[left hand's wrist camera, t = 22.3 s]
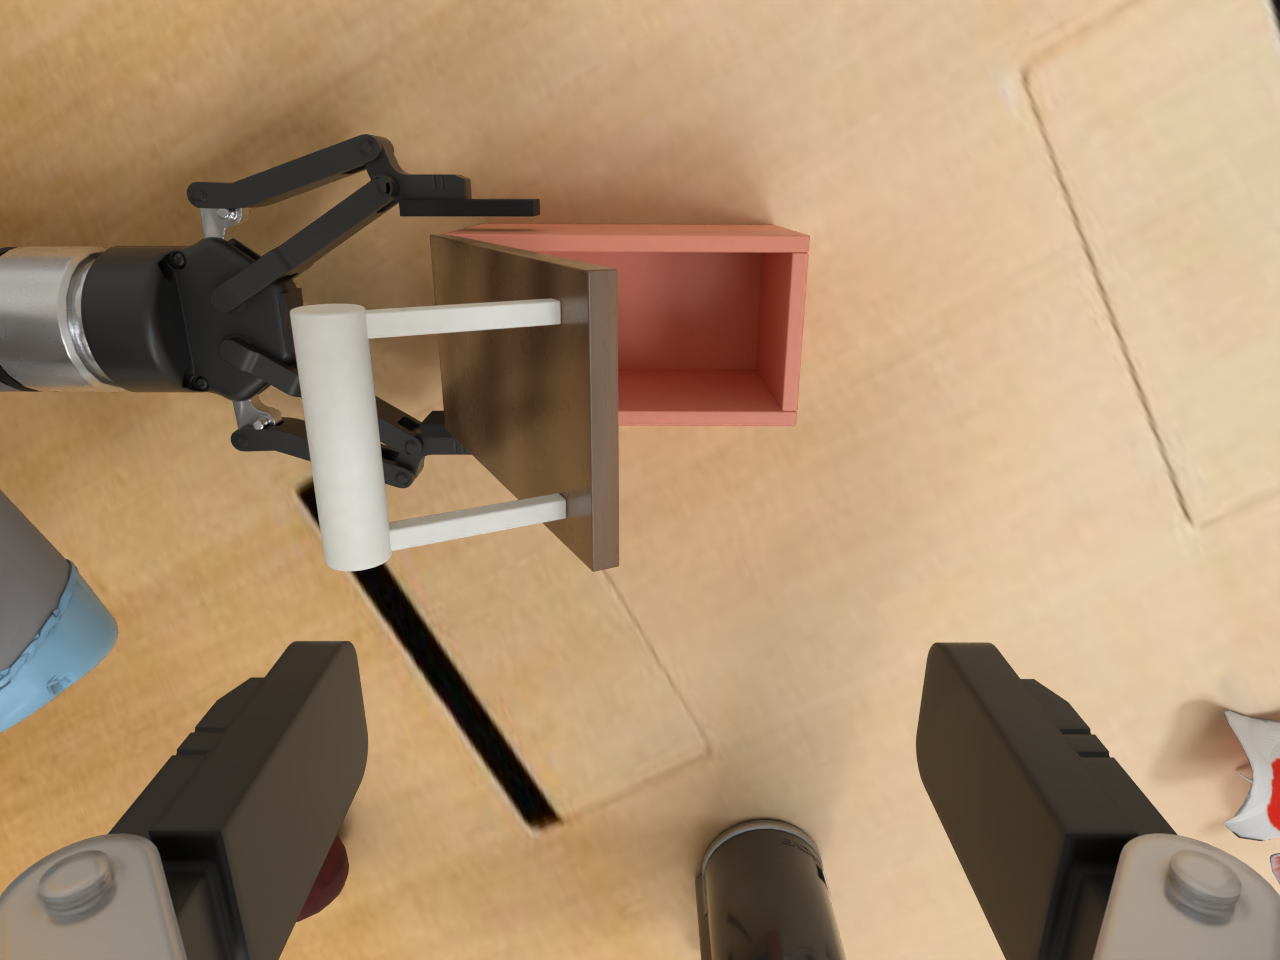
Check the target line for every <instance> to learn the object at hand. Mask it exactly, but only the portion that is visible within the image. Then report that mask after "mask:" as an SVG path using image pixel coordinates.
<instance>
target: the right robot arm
mask: <svg viewBox="0 0 1280 960" xmlns="http://www.w3.org/2000/svg"><path fill="white" fill-rule="evenodd" d="M366 169H367V172H368V174H369V176H370V178H371V181H370V182H369V183H367V184H366V185H364V186H363V187H362V188H360V189H359V190H357V191H356V192H355V193H353V194H352V195H350V196H349V197H348V198H346V199H345V200H343V201H342V202H341V203H339V204H338V205H336V206H335V207H334V208H332V209H331V210H330V211H328V212H327V213H325V214H324V215H323V216H321V217H320V218H318V219H317V220H316V221H314V222H313V223H311V224H310V225H309V226H307V227H306V228H304V229H303V230H302V231H300V232H299V233H297V234H296V235H295V236H293V237H292V238H290V239H289V240H288V241H286V242H285V243H283V244H282V245H281V246H279V247H277V248H275V249H273V250H271V251H269V252H268V253H266V254H265V255H264V256H262V257H261V256H260V255H258V254H257V253H255V252H254V251H252V250H251V249H249V248H248V247H246V246H245V245H243V244H242V243H240V242H239V241H237V240H236V239H234V238H232V232H233V229H234V228H235V227H236V226H238V225H240V224H244V223H246V222H247V221H248V220H249V217H250V208H253V207H262V206H267V205H270V204H274V203H276V202H279V201H282V200H285V199H287V198H290V197H293V196H295V195H298V194H301V193H304V192H306V191H309V190H312V189H315V188H317V187H320V186H323V185H325V184H328V183H331V182H334V181H336V180H339V179H342V178H344V177H347V176H350V175H353V174H355V173H358V172H361V171H364V170H366ZM187 196H188V199H189V201H190V202H191V203H192V204H193V205H194V206H196V207H199V208H200V212H201V218H202V225H203V232H204V239H202V240H200V241H199V242H197V243H196V244H194V245H192V246H116V247H112V248H109V249H106V248H103V247H100V246H20V247H5V248H0V392H5V391H40V392H41V391H47V392H119V391H124V390H128V391H131V392H211V393H216V394H219V395H221V396H223V397H225V398H227V399H229V400H232V401H233V405H234V410H235V415H236V419H237V424H238V430H236V431H235V432H234V433H233V434H232V436H231V442H232V445H233V446H234V447H235V448H236V449H238V450H240V451H274V450H275V451H278V452H282V453H285V454H288V455H292V456H295V457H298V458H302V459H305V460H308V461H311V460H310V452H309V445H308V438H307V431H306V424H305V421H304V420H300V419H296V418H289V417H281V412H280V411H279V410H277V409H275V408H272V407H268V406H265V405H264V404H262V403H261V401H260V400H259V397H258V394H260V393H261V392H263V391H264V390H265V389H266V388H268V387H269V386H270V385H272V386H274V387H276V388H278V389H279V390H281V391H283V392H285V393H287V394H289V395H291V396H296V397H301V398H302V396H301V389H300V382H299V375H298V368H297V361H296V354H295V347H294V340H293V333H292V326H291V319H290V311H291V310H292V309H294V308H297V307H301V306H303V299H302V291H301V288H297V287H296V285H295V283H294V281H293V280H292V279H294V278H295V277H297V276H298V275H299V274H301V273H302V272H304V271H305V270H307V269H308V268H309V267H311V266H312V264H313V263H314V262H316V261H317V260H318V259H320V258H321V257H323V256H324V255H326V254H327V253H328V252H330V251H331V250H333V249H334V248H335V247H337V246H338V245H340V244H341V243H343V242H344V241H345V240H347V239H348V238H350V237H351V236H352V235H354V234H355V233H357V232H358V231H360V230H361V229H362V228H364V227H365V226H367V225H368V224H369V223H371V222H372V221H374V220H375V219H377V218H378V217H379V216H381V215H382V214H384V213H385V212H387V211H388V210H389V209H391V208H392V207H394V206H395V205H396V204H398V203H399V207H400V216H536V215H539V214H540V203H539V199H472V198H471V183H470V179H469V178H466V177H464V176H461V175H411V174H408V173H406V172H404V171H403V170H402V169H401V168H400V166H399V165H398V163H397V160H396V158H395V156H394V149H393V145H392V144H391V142H390V141H389V140H388V139H386V138H383V137H379V136H373V135H368V134H365V135H360V136H357V137H355V138H352V139H349V140H347V141H344V142H341V143H339V144H336V145H333V146H331V147H328V148H325V149H322V150H320V151H317V152H314V153H312V154H309V155H306V156H304V157H301V158H298V159H296V160H293V161H290V162H288V163H285V164H282V165H279V166H277V167H274V168H271V169H269V170H266V171H263V172H261V173H258V174H255V175H253V176H250V177H247V178H245V179H242V180H239V181H236V182H195V183H192V184H191V185H189V187H188V189H187ZM375 399H376V408H377V417H378V426H379V436H380V442H382V443H384V444H386V445H383V444H380V445H381V454H382V463H383V472H384V481H385V484H388V485H392V486H395V487H398V488H407V487H409V486H410V485H411V484H412V483H413V481H414V480H415V479H416V477H417V476H418V475H419V473H420V472H421V471H422V469H423V467H424V463H423V462H424V459H425V456H427V455H455V454H457V455H463V454H465V455H472V454H471V453H470V452H469V451H468V450H467V449H466V448H465V447H464V446H463V445H462V444H461V443H460V442H459V441H457V440H456V439H455V438H454V437H453V436H452V435H451V434H450V433H449V432H448V431H447V430H446V429H445V418H444V411H432V412H431V413H430V414H429V415H428V416H427V417H426V418H425V419H424V421H423V422H420V421H418V420H417V419H415V418H413V417H411V416H410V415H408V414H406V413H404V412H403V411H401V410H399V409H397V408H396V407H394V406H392V405H390V404H389V403H387V402H385V401H383V400H382V399H380V398H378V397H376V396H375ZM117 637H118V626H117V623H116V621H115V619H114V617H113V616H112V615H111V613H110V612H109V611H108V610H107V608H106V607H105V606H104V604H103V603H102V602H101V601H100V599H99V598H98V597H97V595H96V594H95V593H94V592H93V590H92V589H91V588H90V587H89V585H88V584H87V583H86V581H85V580H84V579H83V578H82V576H81V575H80V574H79V572H78V569H77V567H76V566H75V565H74V563H73V562H71V561H69V560H68V559H65V558H64V557H63V556H62V555H61V554H60V553H59V552H58V551H57V550H56V548H55V547H54V546H53V545H52V544H51V543H50V542H49V541H48V540H47V539H46V538H45V537H44V536H43V535H42V534H41V533H40V531H39V530H38V529H37V528H36V527H35V526H34V525H33V524H32V523H31V522H30V521H29V520H28V519H27V518H26V517H25V515H24V514H23V513H22V512H21V511H20V510H19V509H18V508H17V507H16V506H15V505H14V504H13V503H12V502H11V501H10V500H9V498H8V497H7V496H6V495H5V494H4V493H3V492H2V491H1V490H0V733H1V732H3V731H5V730H7V729H9V728H10V727H12V726H14V725H16V724H17V723H19V722H20V721H22V720H24V719H25V718H27V717H28V716H30V715H31V714H33V713H34V712H36V711H37V710H39V709H40V708H42V707H43V706H44V705H46V704H47V703H49V702H50V701H51V700H53V699H54V698H56V697H57V695H58V694H60V693H61V692H62V691H64V690H65V689H66V688H68V687H69V686H70V685H72V684H73V683H75V682H77V681H78V680H79V679H81V678H82V677H83V676H85V675H86V674H87V673H88V672H89V671H91V670H92V669H93V668H94V667H95V666H96V665H97V664H99V663H100V662H101V661H102V660H103V659H104V658H105V657H106V656H107V655H108V653H109V652H110V651H111V650H112V648H113V647H114V645H115V643H116V640H117Z"/></svg>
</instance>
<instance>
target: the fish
mask: <svg viewBox="0 0 1280 960" xmlns="http://www.w3.org/2000/svg"><path fill="white" fill-rule="evenodd" d="M1224 713H1225V716H1226V718H1227V721H1228V723H1229V725H1230V726H1231V728H1232V730H1233V731H1234V733H1235V735H1236V736H1237V738H1238V739H1239V741H1240V743H1241V744H1242V746H1243V749H1244V751H1245V753H1246V755H1247V758H1248V760H1249V762H1250V765H1251V767H1252V770H1253V778H1252V780H1251V779H1249V778H1247V777H1245V776H1243V775H1241V774H1239V773H1237V774H1238V775H1240V776H1241V777H1243V778H1244V779H1246V780H1247V781H1249V782H1250V783H1252V786H1251V789H1250V791H1249V793H1248V796H1247V798H1246V800H1245V802H1244V804H1243V805H1242V807H1241V808H1240V809H1239V811H1238V812H1237V814H1236V815H1235V817H1233V818H1232V819H1230V820H1229V821H1227V822H1225V823H1224V825H1225V826H1226V827H1227V828H1229V829H1230V830H1231V831H1232V832H1233V833H1234V834H1235V835H1236V836H1238V837H1239V838H1244V839H1251V840H1258V841H1264V840H1269V839H1273V838H1276V837H1278V836H1280V721H1275V720H1267V719H1260V718H1252V717H1248V716H1245V715H1242V714H1239V713H1236V712H1232V711H1226V710H1225V711H1224ZM1270 862H1271V867H1272V871H1273V873H1274V875H1275V877H1276V878H1277V880H1278V882H1279V883H1280V853H1278V854H1274V855H1271V857H1270Z"/></svg>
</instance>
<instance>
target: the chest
mask: <svg viewBox="0 0 1280 960" xmlns="http://www.w3.org/2000/svg"><path fill="white" fill-rule="evenodd" d="M446 234H449V235H454V236H459V237H464V238H469V239H474V240H479V241H483V242H488V243H493V244H498V245H503V246H508V247H513V248H518V249H522V250H527V251H532V252H537V253H542V254H547V255H552V256H557V257H561V258H566V259H571V260H576V261H581V262H586V263H591V264H596V265H600V266H605V267H610V268H615V269H617V271H618V425H671V426H795V425H796V419H797V412H796V411H797V405H798V392H799V378H800V364H801V350H802V337H803V323H804V309H805V295H806V282H807V268H808V252H809V241H810V236H808V235H805V234H802V233H799V232H796V231H792V230H789V229H786V228H783V227H779V226H776V225H705V224H481V225H477V226H473V227H469V228H465V229H461V230H457V231H453V232H449V233H445V234H443V235H446Z"/></svg>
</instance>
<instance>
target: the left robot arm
mask: <svg viewBox="0 0 1280 960" xmlns="http://www.w3.org/2000/svg"><path fill="white" fill-rule="evenodd" d="M367 753H368V733H367V725H366V718H365V711H364V704H363V696H362V689H361V682H360V675H359V667H358V660H357V654H356V651H355V648H354V646H353V644H352V643H351V642H349V641H295V642H293V643H291V644H290V645H289V646H288V647H287V649H286V650H285V651H284V653H283V654H282V655H281V657H280V658H279V659H278V661H277V662H276V663H275V665H274V666H273V667H272V669H271V670H270V671H269V673H268V674H267V675H266V676H265V678H250V679H248V680H247V681H245V682H244V683H242V684H241V685H239V686H238V687H236V688H235V689H233V690H232V691H230V692H229V693H227V694H226V695H225V696H223V697H222V698H220V699H219V700H217V701H216V702H215V704H214V705H213V706H212V707H211V709H210V710H209V711H208V712H207V713H206V715H205V716H204V717H203V718H202V720H201V721H200V722H199V723H198V724H197V726H196V727H195V732H194V733H190V734H189V735H188V737H187V738H186V739H185V740H184V742H183V743H182V744H181V745H180V747H179V748H178V749H177V754H176V755H172V756H171V758H170V759H169V760H168V761H167V762H166V764H165V765H164V766H163V767H162V769H161V770H160V771H159V772H158V773H157V775H156V776H155V777H154V778H153V780H152V781H151V782H150V783H149V784H148V786H147V787H146V788H145V789H144V791H143V792H142V793H141V794H140V795H139V797H138V798H137V799H136V800H135V802H134V803H133V804H132V805H131V806H130V808H129V809H128V810H127V811H126V813H125V814H124V815H123V816H122V817H121V819H120V820H119V821H118V822H117V824H116V825H115V826H114V827H113V828H112V830H111V831H110V832H109V833H108V835H101V836H97V837H92V838H88V839H85V840H82V841H79V842H76V843H73V844H71V845H68V846H66V847H64V848H62V849H59V850H57V851H55V852H54V853H52V854H50V855H48V856H46V857H44V858H43V859H41V860H40V861H38V862H37V863H35V864H33V865H32V866H31V867H29V868H28V869H27V870H25V871H24V872H23V873H22V874H20V875H19V876H18V877H17V878H16V879H15V880H14V881H13V882H12V883H11V884H10V885H9V886H8V887H7V888H6V889H5V891H4V892H3V893H2V894H1V896H0V960H278V959H279V957H280V955H281V953H282V951H283V949H284V947H285V944H286V942H287V940H288V938H289V936H290V934H291V932H292V929H293V927H294V925H295V923H296V921H297V919H298V917H299V914H300V912H301V910H302V908H303V906H304V904H305V901H306V899H307V897H308V895H309V893H310V891H311V889H312V886H313V884H314V882H315V880H316V878H317V876H318V874H319V871H320V869H321V867H322V865H323V863H324V861H325V859H326V856H327V854H328V852H329V850H330V848H331V846H332V843H333V841H334V839H335V837H336V835H337V833H338V831H339V828H340V826H341V824H342V822H343V820H344V818H345V816H346V813H347V811H348V809H349V807H350V805H351V803H352V801H353V798H354V796H355V794H356V792H357V790H358V788H359V785H360V783H361V781H362V778H363V775H364V771H365V767H366V762H367ZM916 753H917V762H918V768H919V772H920V776H921V779H922V782H923V784H924V787H925V789H926V791H927V793H928V795H929V797H930V799H931V802H932V804H933V806H934V808H935V810H936V812H937V814H938V816H939V818H940V821H941V823H942V825H943V827H944V829H945V831H946V833H947V835H948V838H949V840H950V842H951V844H952V846H953V848H954V850H955V852H956V855H957V857H958V859H959V861H960V863H961V865H962V867H963V869H964V872H965V874H966V876H967V878H968V880H969V882H970V884H971V886H972V889H973V891H974V893H975V895H976V897H977V899H978V901H979V903H980V905H981V908H982V910H983V912H984V914H985V916H986V918H987V920H988V922H989V925H990V927H991V929H992V931H993V933H994V935H995V937H996V939H997V942H998V944H999V946H1000V948H1001V950H1002V952H1003V954H1004V956H1005V959H1006V960H1280V896H1279V894H1278V893H1277V892H1276V891H1275V889H1274V888H1273V887H1272V886H1271V885H1270V884H1269V883H1268V882H1267V881H1266V880H1265V879H1264V878H1263V877H1262V876H1261V875H1260V874H1258V873H1257V872H1256V871H1255V870H1253V869H1252V868H1251V867H1249V866H1248V865H1247V864H1245V863H1243V862H1242V861H1240V860H1239V859H1237V858H1236V857H1234V856H1232V855H1230V854H1228V853H1226V852H1225V851H1223V850H1221V849H1218V848H1216V847H1214V846H1212V845H1209V844H1207V843H1204V842H1201V841H1198V840H1195V839H1192V838H1188V837H1183V836H1179V835H1177V834H1176V832H1175V831H1174V830H1173V829H1172V828H1171V826H1170V825H1169V824H1168V823H1167V821H1166V820H1165V819H1164V818H1163V817H1162V815H1161V814H1160V813H1159V812H1158V811H1157V809H1156V808H1155V807H1154V806H1153V804H1152V803H1151V802H1150V801H1149V800H1148V798H1147V797H1146V796H1145V795H1144V794H1143V792H1142V791H1141V790H1140V789H1139V788H1138V786H1137V785H1136V784H1135V783H1134V781H1133V780H1132V779H1131V778H1130V777H1129V775H1128V774H1127V773H1126V772H1125V771H1124V769H1123V768H1122V767H1121V766H1120V764H1119V763H1118V762H1117V761H1116V760H1115V758H1110V756H1109V751H1108V750H1107V749H1106V748H1105V746H1104V745H1103V744H1102V743H1101V741H1100V740H1099V739H1098V738H1097V737H1096V735H1091V733H1090V728H1089V727H1088V726H1087V724H1086V723H1085V722H1084V721H1083V720H1082V718H1081V717H1080V716H1079V715H1078V714H1077V712H1076V711H1075V710H1074V709H1073V707H1072V706H1071V705H1070V704H1069V703H1068V702H1067V701H1066V700H1064V699H1063V698H1061V697H1060V696H1058V695H1057V694H1055V693H1054V692H1052V691H1051V690H1049V689H1048V688H1046V687H1045V686H1043V685H1042V684H1040V683H1039V682H1037V681H1036V680H1034V679H1020V678H1019V677H1018V675H1017V674H1016V673H1015V671H1014V670H1013V669H1012V667H1011V666H1010V665H1009V664H1008V662H1007V661H1006V660H1005V658H1004V657H1003V656H1002V654H1001V653H1000V652H999V651H998V649H997V648H996V647H995V646H994V645H993V644H991V643H934V644H933V645H932V646H931V648H930V650H929V653H928V658H927V664H926V671H925V678H924V685H923V693H922V700H921V707H920V714H919V721H918V728H917V736H916ZM823 872H824V870H823V865H822V861H821V857H820V854H819V851H818V848H817V846H816V845H815V843H814V842H813V840H812V839H811V838H810V837H809V836H808V835H807V834H806V833H804V832H803V831H802V830H800V829H798V828H797V827H795V826H792V825H790V824H787V823H784V822H780V821H773V820H756V821H749V822H745V823H741V824H739V825H736V826H734V827H731V828H730V829H728V830H726V831H724V832H723V833H722V834H720V835H719V836H718V837H717V838H716V839H715V840H714V841H713V842H712V843H711V844H710V846H709V847H708V849H707V851H706V853H705V855H704V858H703V862H702V874H701V875H700V876H699V877H698V878H697V879H696V880H695V886H696V899H697V912H698V924H699V937H700V950H701V960H846V957H845V953H844V949H843V945H842V942H841V938H840V934H839V930H838V926H837V923H836V919H835V915H834V911H833V908H832V904H831V900H830V896H829V892H828V889H827V885H828V883H827V885H826V882H827V879H826V876H825V873H823ZM824 876H825V877H824ZM825 879H826V881H825ZM828 888H829V886H828ZM829 891H830V889H829ZM830 894H831V892H830ZM831 898H832V896H831ZM832 901H833V900H832ZM833 904H834V903H833Z"/></svg>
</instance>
